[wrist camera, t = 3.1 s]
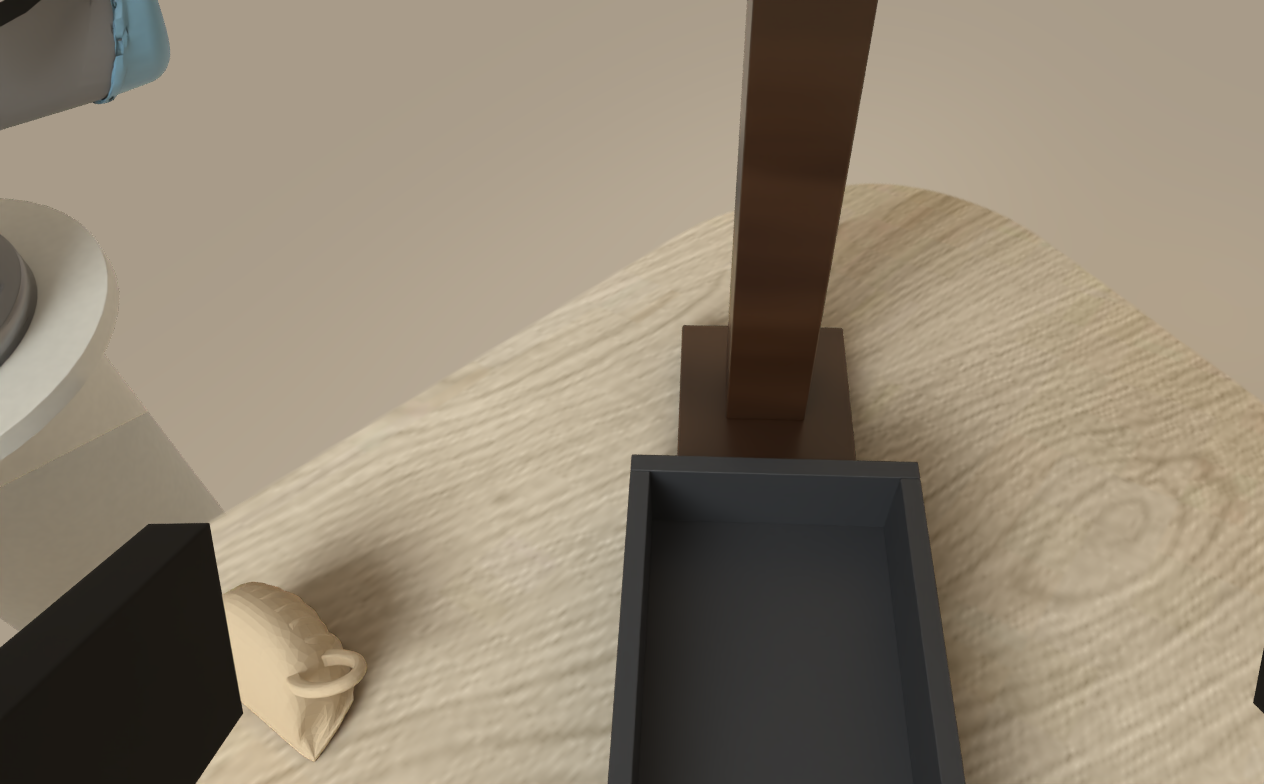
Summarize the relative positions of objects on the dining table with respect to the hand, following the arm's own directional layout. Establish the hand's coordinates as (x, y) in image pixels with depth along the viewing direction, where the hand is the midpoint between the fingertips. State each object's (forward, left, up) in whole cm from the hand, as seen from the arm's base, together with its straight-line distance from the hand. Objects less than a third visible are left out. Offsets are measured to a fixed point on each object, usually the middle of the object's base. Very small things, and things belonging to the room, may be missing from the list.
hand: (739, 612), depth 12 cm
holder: (-3, +6, -26) cm, 27 cm away
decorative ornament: (-17, -8, -26) cm, 32 cm away
